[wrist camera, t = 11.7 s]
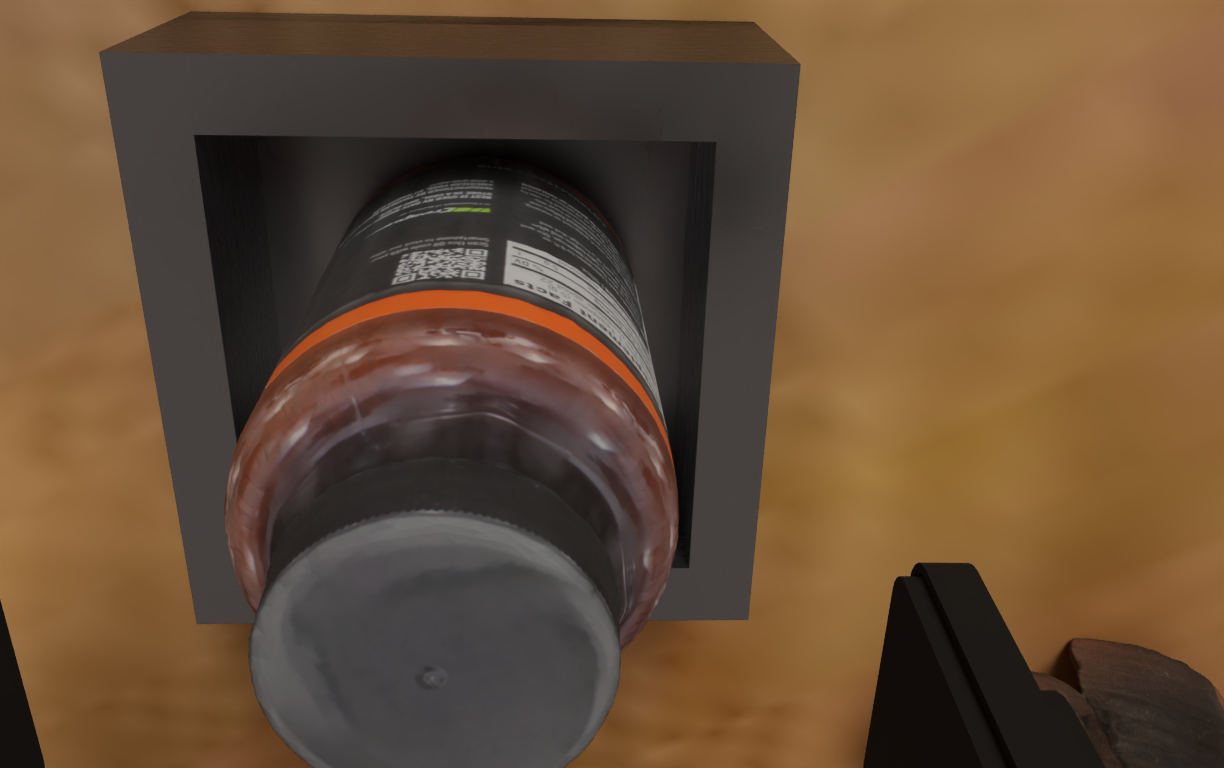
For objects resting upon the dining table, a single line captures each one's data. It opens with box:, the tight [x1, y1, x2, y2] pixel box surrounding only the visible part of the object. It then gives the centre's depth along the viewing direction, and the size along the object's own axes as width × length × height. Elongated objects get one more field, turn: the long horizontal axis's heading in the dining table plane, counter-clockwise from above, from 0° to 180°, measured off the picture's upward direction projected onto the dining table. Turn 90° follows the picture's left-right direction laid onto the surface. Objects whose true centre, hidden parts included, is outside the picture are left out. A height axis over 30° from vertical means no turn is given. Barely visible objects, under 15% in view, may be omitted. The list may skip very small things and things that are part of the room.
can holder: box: [99, 12, 800, 624], centre depth 21 cm, size 10×10×4 cm
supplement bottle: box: [224, 156, 679, 768], centre depth 17 cm, size 6×6×11 cm
